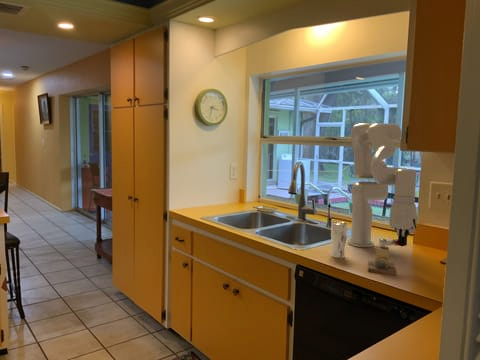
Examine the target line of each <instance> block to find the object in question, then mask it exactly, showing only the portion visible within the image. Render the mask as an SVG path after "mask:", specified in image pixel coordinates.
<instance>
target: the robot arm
mask: <svg viewBox="0 0 480 360" xmlns="http://www.w3.org/2000/svg"><path fill="white" fill-rule="evenodd" d="M401 134H402V129H401V126H399V125H398V124H396V123H381V122H379V123H369V122H368V123H364V122H363V123H361V122H360V123H357V124H354V125H353V126H352V128H351V131H350V141H351V145H352V148H353V149H352V150H353V172H354V177H356V178H357V179H364V180H365V181H357V182H356V181H355V182H353V184H352V186H351V190H350V191H351V198H352V200H351V201H352V206H351V207H352V209H351V212H352V213H351V231H350V239H348V240H347V244H348V245H349V246H353V247H356V248H357V247H358V248H372V247H373V246H375V243H374V241H371V240H372V228H373V227H372V226H373V225H372V224H373V209H372V206H371V205H370V203H369V202H370V201H371V202H372V201H373V202H375V201H376V202H377V201H379V202H380V201H386V199H387V198H388V194H389V186H394V195H393V196H392V199H393V202H392V203H391V207H390V212H389V220H388V221H389V222H388V225H389V226H390V227H391V229H392V230H394V231H395V232H396V236H397V237H398V238H397V239H398V245H399V247H407V245H408V237H409V235H410V234H415V233H416V229H417V226H418V212H417V204H415V203H416V201H415V200H416V199H415V198H416V182H417V180H416V179H417V172H416V170H415V169H411V168H405V167H390V166H389V167H388V164H387V163H386V162H385V161H384V160H386V159H389V158H390V157H392V156H393V155H394V153H395V152H396V145H395V144H394V143H397V142H399V141H400V140H401V138H402V135H401ZM367 142H370V143H371V145H372V147H373V148H371V147H370V145H369V143H367ZM372 149H373V150H374V151H372ZM373 152H374V154H373ZM372 179H373V180H374V181H370V180H372ZM366 180H369V181H366Z"/></svg>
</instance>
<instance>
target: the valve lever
mask: <svg viewBox="0 0 480 360" xmlns="http://www.w3.org/2000/svg"><path fill="white" fill-rule="evenodd" d="M378 243H379V244H378V246H380V248H385V246H386V247H389V246H399V245H398V238H397V239H392V240H390V239H389V240H387V239H386V238H379V242H378ZM399 247H400V246H399Z"/></svg>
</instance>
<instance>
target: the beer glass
mask: <svg viewBox="0 0 480 360" xmlns="http://www.w3.org/2000/svg"><path fill="white" fill-rule="evenodd" d="M347 238H348V223H346V222H343V221H332V222H331V229H330V239H331V248H332V249H331V253H330V256H331V257H333V258H335V259H344V258H345V256H346V255H345V253H346V252H345V246H346V243H347V242H346V241H347Z"/></svg>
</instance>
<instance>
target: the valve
mask: <svg viewBox="0 0 480 360" xmlns="http://www.w3.org/2000/svg"><path fill="white" fill-rule="evenodd" d="M389 254H390V247H389V246H385V248H380V245H375V256H374V257H375V258H374V261H373V260H368V262H367V272H368V273H375V274H384V275H390V276H391V275H392V276H396V268H395V263H390V262H389V257H390V256H389Z"/></svg>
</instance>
